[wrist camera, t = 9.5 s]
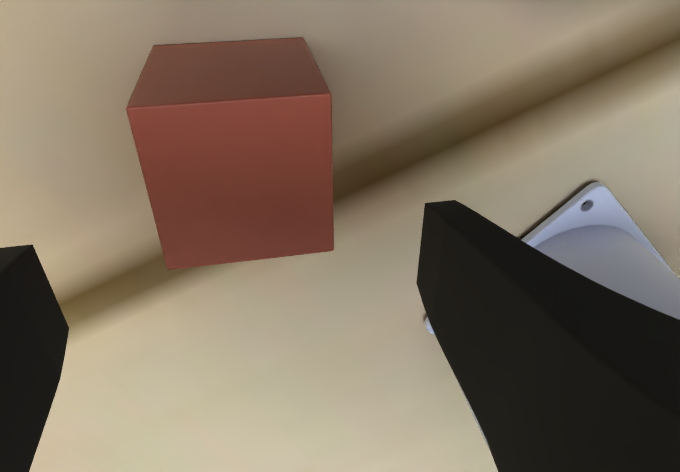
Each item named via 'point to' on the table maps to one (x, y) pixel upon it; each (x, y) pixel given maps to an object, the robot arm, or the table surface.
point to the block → (235, 150)
